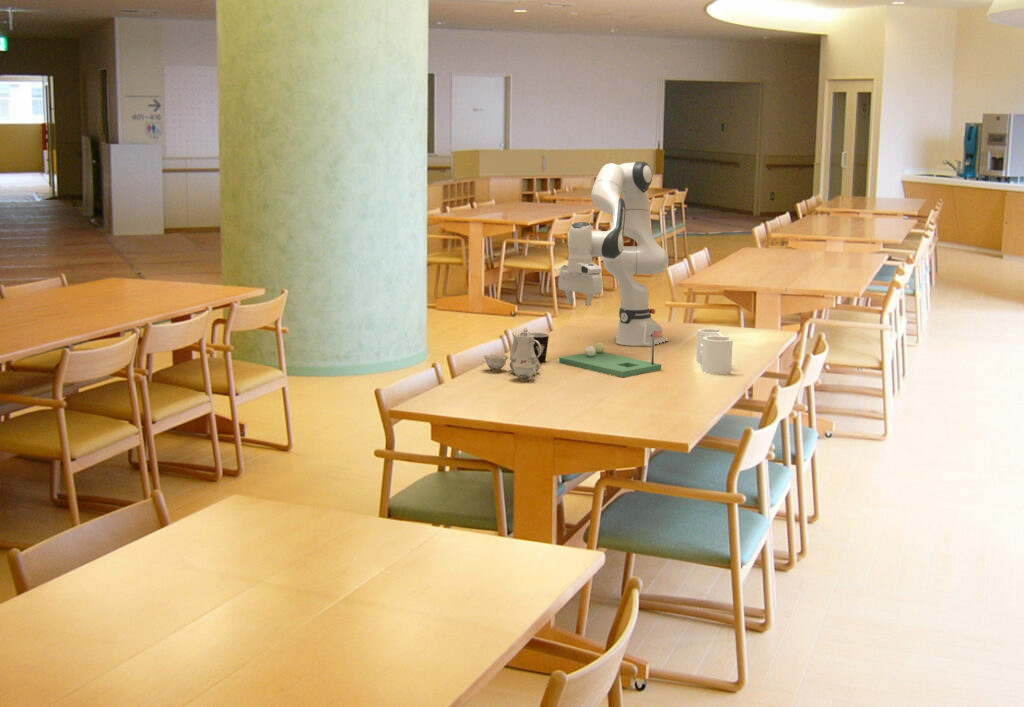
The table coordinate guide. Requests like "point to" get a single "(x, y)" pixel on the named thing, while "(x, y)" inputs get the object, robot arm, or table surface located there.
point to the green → (610, 364)
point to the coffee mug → (543, 341)
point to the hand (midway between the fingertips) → (579, 304)
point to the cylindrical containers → (714, 351)
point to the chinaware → (518, 357)
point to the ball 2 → (599, 347)
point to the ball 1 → (590, 351)
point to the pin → (654, 335)
